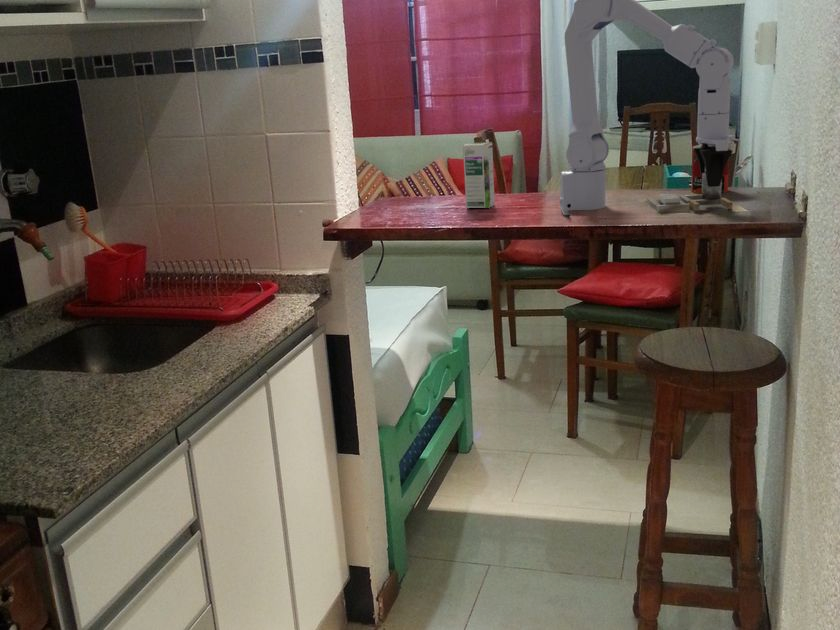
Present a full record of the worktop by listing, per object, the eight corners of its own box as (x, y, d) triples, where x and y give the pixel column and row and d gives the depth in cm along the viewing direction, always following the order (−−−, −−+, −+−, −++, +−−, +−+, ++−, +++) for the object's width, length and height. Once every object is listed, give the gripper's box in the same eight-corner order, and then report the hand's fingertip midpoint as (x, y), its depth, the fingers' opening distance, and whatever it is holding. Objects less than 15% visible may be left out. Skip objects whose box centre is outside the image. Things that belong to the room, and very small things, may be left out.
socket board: (658, 220, 160) (658, 206, 159) (642, 205, 176) (643, 192, 175) (748, 216, 158) (748, 201, 158) (724, 201, 175) (724, 188, 174)
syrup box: (465, 209, 187) (462, 144, 183) (471, 204, 192) (468, 142, 188) (489, 209, 185) (487, 143, 181) (495, 204, 190) (492, 141, 186)
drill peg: (703, 200, 159) (705, 164, 157) (699, 197, 163) (700, 162, 161) (723, 199, 159) (724, 163, 157) (718, 196, 162) (719, 160, 160)
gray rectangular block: (664, 210, 163) (664, 198, 163) (658, 205, 169) (658, 194, 168) (680, 210, 163) (680, 198, 162) (673, 205, 169) (673, 193, 168)
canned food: (688, 198, 181) (689, 148, 178) (694, 192, 188) (696, 144, 185) (724, 199, 178) (726, 147, 174) (729, 193, 184) (732, 143, 181)
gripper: (746, 114, 149) (743, 189, 153) (724, 109, 163) (721, 178, 167) (706, 116, 150) (704, 191, 153) (688, 112, 163) (686, 180, 167)
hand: (710, 184), depth 160 cm, fingers closed on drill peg, 4 cm apart
